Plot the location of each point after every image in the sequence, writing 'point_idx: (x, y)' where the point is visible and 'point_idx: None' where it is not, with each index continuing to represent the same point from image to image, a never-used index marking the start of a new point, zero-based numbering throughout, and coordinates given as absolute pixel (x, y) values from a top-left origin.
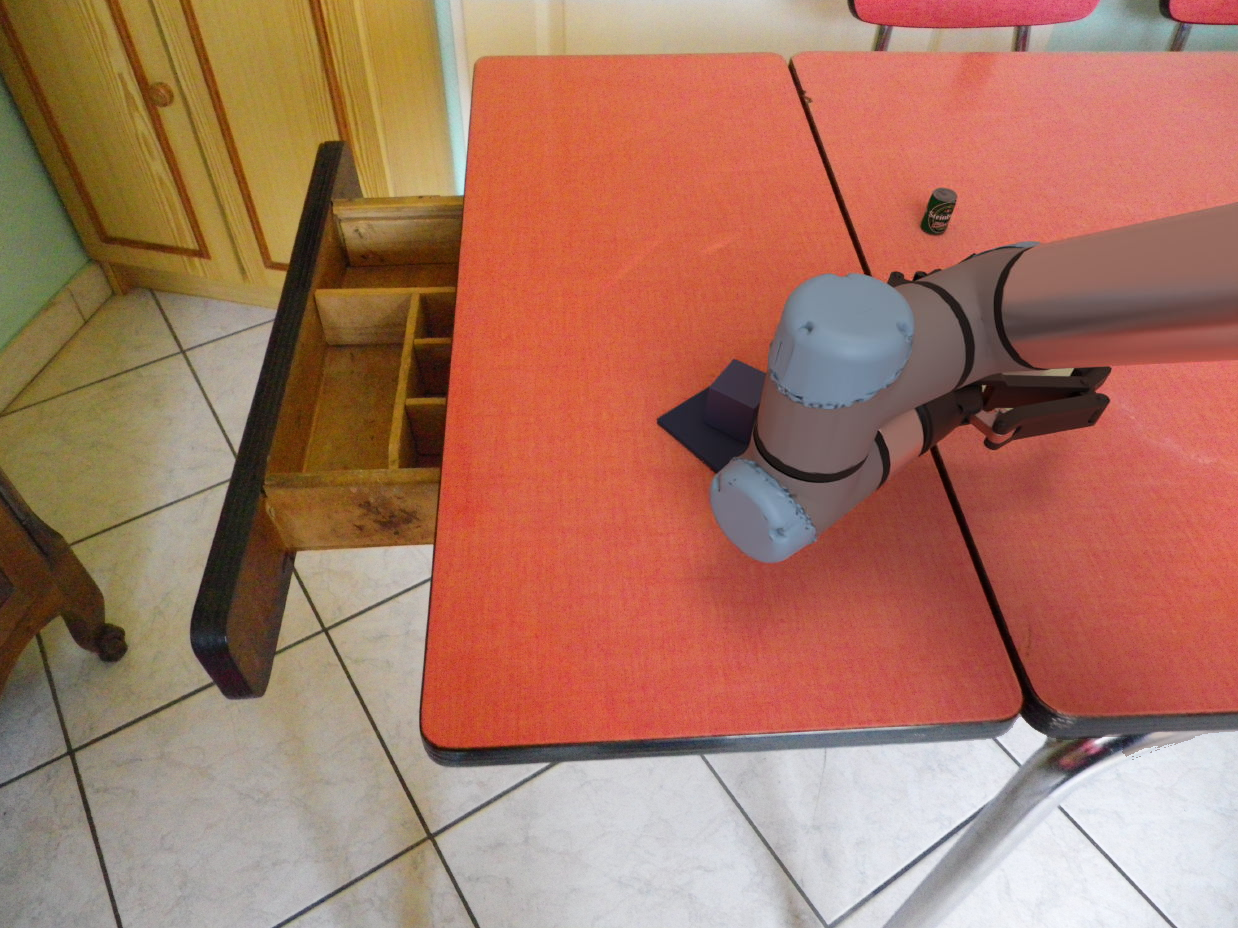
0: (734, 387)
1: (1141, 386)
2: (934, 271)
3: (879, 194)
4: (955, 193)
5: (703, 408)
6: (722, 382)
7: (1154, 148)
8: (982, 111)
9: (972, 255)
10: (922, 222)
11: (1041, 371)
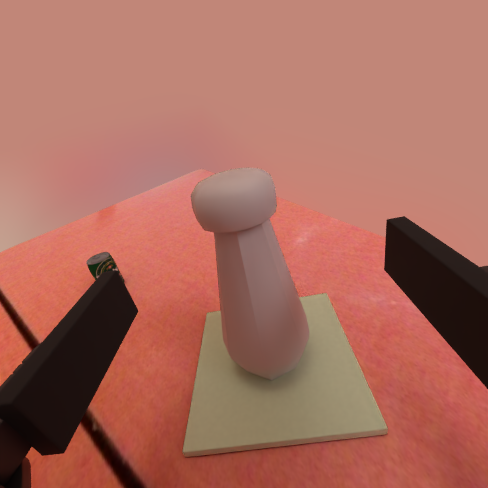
0: None
1: (353, 274)
2: (31, 354)
3: (59, 293)
4: (106, 252)
5: None
6: None
7: None
8: (118, 220)
9: (100, 276)
10: None
11: (307, 337)
